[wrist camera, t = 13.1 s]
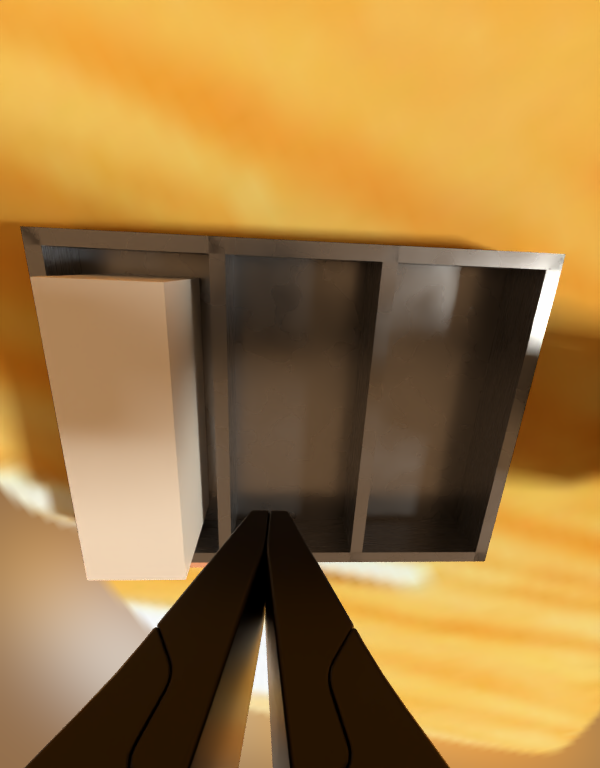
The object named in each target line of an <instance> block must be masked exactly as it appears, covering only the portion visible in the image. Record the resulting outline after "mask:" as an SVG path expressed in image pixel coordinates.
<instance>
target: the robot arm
mask: <svg viewBox="0 0 600 768" xmlns="http://www.w3.org/2000/svg"><path fill="white" fill-rule="evenodd" d="M264 616H265V627H266V648H267V667H268V686H269V705H270V724H271V743H272V761H273V768H450V767H449V766H448V764H447V763H446V761H445V760H444V759H443V758H442V756H441V754H440V753H439V752H438V750H437V749H436V748H435V746H434V745H433V743H432V742H431V741H430V739H429V738H428V737H427V735H426V734H425V733H424V731H423V730H422V728H421V727H420V726H419V724H418V723H417V722H416V720H415V719H414V717H413V716H412V715H411V713H410V712H409V711H408V709H407V708H406V706H405V705H404V703H403V702H402V701H401V699H400V698H399V696H398V695H397V693H396V692H395V691H394V689H393V688H392V686H391V685H390V683H389V682H388V680H387V679H386V678H385V676H384V675H383V673H382V671H381V670H380V668H379V667H378V665H377V663H376V662H375V660H374V658H373V657H372V655H371V654H370V652H369V650H368V649H367V647H366V645H365V644H364V642H363V640H362V638H361V637H360V635H359V633H358V631H357V630H356V629H355V628H354V625H353V623H352V621H351V620H350V618H349V616H348V615H347V613H346V611H345V609H344V608H343V606H342V604H341V602H340V601H339V599H338V597H337V595H336V594H335V592H334V590H333V589H332V587H331V585H330V583H329V582H328V580H327V578H326V576H325V575H324V573H323V571H322V569H321V568H320V566H319V564H318V562H317V561H316V559H315V557H314V556H313V554H312V552H311V550H310V549H309V547H308V545H307V543H306V542H305V540H304V538H303V536H302V535H301V533H300V531H299V530H298V528H297V526H296V524H295V523H294V521H293V519H292V517H291V516H290V514H289V512H288V511H286V510H272V511H271V512H270V514H269V511H268V510H252V511H250V513H249V514H248V515H247V516H246V517H245V519H244V520H243V521H242V522H241V524H240V525H239V526H238V527H237V528H236V530H235V531H234V532H233V533H232V534H231V536H230V537H229V538H228V539H227V541H226V542H225V543H224V544H223V545H222V547H221V548H220V549H219V550H218V551H217V553H216V554H215V555H214V556H213V557H212V559H211V560H210V561H209V562H208V564H207V565H206V566H205V567H204V568H203V570H202V571H201V572H200V573H199V574H198V576H197V577H196V578H195V579H194V581H193V582H192V583H191V584H190V585H189V587H188V588H187V589H186V590H185V591H184V593H183V594H182V595H181V596H180V598H179V599H178V600H177V601H176V602H175V604H174V605H173V606H172V607H171V608H170V610H169V611H168V612H167V613H166V614H165V616H164V617H163V618H162V619H161V621H160V622H159V623H158V625H157V627H155V628H154V629H153V630H152V631H151V632H150V634H149V635H148V636H147V637H146V638H145V640H144V641H143V642H142V643H141V645H140V646H139V647H138V648H137V649H136V650H135V652H134V653H133V654H132V655H131V656H130V657H129V659H128V660H127V661H126V662H125V663H124V664H123V665H122V667H121V668H120V669H119V670H118V671H117V673H115V675H114V676H113V677H112V678H111V679H110V680H109V681H108V682H107V683H106V684H105V685H104V686H103V687H102V688H101V689H100V691H99V692H98V693H97V694H96V695H95V696H94V697H93V698H92V699H91V700H90V701H89V702H88V703H87V704H86V705H85V706H84V708H82V710H81V711H80V712H79V713H78V714H77V715H76V716H75V717H74V718H73V719H72V720H71V721H70V722H69V723H68V724H67V725H66V726H65V727H64V728H63V729H62V730H61V731H60V732H59V733H58V734H57V735H56V736H55V737H54V738H53V739H52V740H51V741H50V742H49V743H48V744H47V745H46V746H45V747H44V748H43V749H42V750H41V751H40V752H39V753H38V754H37V755H36V756H35V758H34V759H32V760H31V761H30V763H29V764H28V765H27V766H26V767H25V768H238V767H239V762H240V756H241V750H242V745H243V739H244V733H245V728H246V722H247V716H248V710H249V705H250V699H251V693H252V687H253V682H254V676H255V670H256V665H257V659H258V653H259V647H260V642H261V636H262V630H263V623H264Z"/></svg>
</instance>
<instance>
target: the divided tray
mask: <svg viewBox="0 0 600 768" xmlns="http://www.w3.org/2000/svg"><path fill="white" fill-rule="evenodd" d="M20 227H21V233H22V238H23V243H24V249H25V254H26V259H27V265H28V270H29V275H30V277H36V276H62V275H88V274H123V275H146V276H170V277H193V278H199V286H200V309H201V331H202V353H203V376H204V398H205V421H206V443H207V465H208V488H209V506H208V509H207V512H206V516H205V519H204V522H203V525H202V529H201V532H200V535H199V539H198V542H197V545H196V548H195V552H194V555H193V558H192V561H191V565H190V567H205V566H206V565H207V564H208V562H209V561H210V560H211V559H212V557H213V556H214V555H215V554H216V553H217V551H218V550H219V549H220V548H221V547H222V545H223V544H224V543H225V542H226V541H227V539H228V538H229V537H230V536H231V534H232V533H233V532H234V531H235V530H236V528H237V527H238V526H239V525H240V524H241V522H242V521H243V520H244V519H245V517H246V516H247V515H248V514H249V513H250V511H252V510H268V511H269V514H270V512H271V511H272V510H286V511H288V512H289V514H290V516H291V517H292V519H293V521H294V523H295V524H296V526H297V528H298V530H299V531H300V533H301V535H302V536H303V538H304V540H305V542H306V543H307V545H308V547H309V549H310V550H311V552H312V554H313V556H314V557H315V559H316V561H317V562H434V561H485V558H486V554H487V550H488V546H489V542H490V539H491V535H492V531H493V527H494V524H495V520H496V516H497V512H498V508H499V505H500V501H501V497H502V493H503V489H504V486H505V482H506V478H507V474H508V470H509V467H510V463H511V459H512V455H513V451H514V448H515V444H516V440H517V436H518V432H519V429H520V425H521V421H522V417H523V413H524V410H525V406H526V402H527V398H528V394H529V391H530V387H531V383H532V379H533V376H534V372H535V368H536V364H537V360H538V357H539V353H540V349H541V345H542V341H543V338H544V334H545V330H546V326H547V322H548V319H549V315H550V311H551V307H552V303H553V300H554V296H555V292H556V288H557V284H558V281H559V277H560V273H561V269H562V265H563V262H564V258H565V254H551V253H532V252H512V251H492V250H473V249H453V248H434V247H414V246H394V245H375V244H355V243H336V242H316V241H297V240H277V239H257V238H238V237H218V236H199V235H179V234H160V233H140V232H120V231H101V230H81V229H62V228H42V227H22V226H20ZM30 281H31V280H30ZM31 286H32V285H31ZM32 291H33V290H32ZM34 302H35V301H34ZM35 307H36V306H35ZM37 318H38V317H37ZM38 323H39V322H38ZM39 328H40V327H39ZM40 334H41V333H40ZM41 339H42V338H41ZM42 344H43V343H42ZM43 350H44V349H43ZM44 355H45V354H44ZM45 360H46V359H45ZM46 365H47V364H46ZM47 371H48V370H47ZM48 376H49V375H48ZM49 381H50V380H49ZM50 387H51V386H50ZM51 392H52V391H51ZM52 397H53V396H52ZM53 403H54V402H53ZM54 408H55V407H54ZM55 413H56V412H55ZM56 419H57V417H56ZM57 424H58V423H57ZM58 429H59V428H58ZM59 434H60V433H59ZM60 440H61V439H60ZM61 445H62V444H61ZM62 450H63V449H62ZM63 456H64V454H63ZM64 461H65V460H64ZM65 466H66V465H65ZM66 472H67V470H66ZM67 477H68V476H67ZM68 482H69V481H68ZM69 488H70V486H69ZM70 493H71V492H70ZM71 498H72V497H71ZM72 503H73V502H72ZM73 509H74V507H73ZM74 514H75V513H74ZM75 519H76V518H75ZM76 525H77V523H76ZM77 530H78V529H77ZM78 535H79V534H78ZM79 541H80V539H79ZM80 546H81V544H80ZM81 551H82V550H81ZM82 556H83V555H82ZM83 562H84V560H83Z"/></svg>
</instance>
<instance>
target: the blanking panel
mask: <svg viewBox="0 0 600 768" xmlns="http://www.w3.org/2000/svg"><path fill="white" fill-rule="evenodd" d="M30 280H31V285H32V290H33V296H34V301H35V306H36V312H37V317H38V322H39V327H40V333H41V338H42V343H43V349H44V354H45V359H46V364H47V370H48V375H49V380H50V386H51V391H52V396H53V402H54V407H55V412H56V417H57V423H58V428H59V433H60V439H61V444H62V449H63V454H64V460H65V465H66V470H67V476H68V481H69V486H70V492H71V497H72V502H73V507H74V513H75V518H76V523H77V529H78V534H79V539H80V544H81V550H82V555H83V560H84V566H85V571H86V576H87V580H186V578H187V574H188V571H189V568H190V565H191V561H192V558H193V555H194V552H195V548H196V545H197V542H198V539H199V535H200V532H201V529H202V525H203V522H204V519H205V516H206V512H207V509H208V506H209V488H208V465H207V443H206V421H205V398H204V376H203V353H202V331H201V309H200V286H199V278H193V277H170V276H146V275H123V274H88V275H62V276H36V277H30Z"/></svg>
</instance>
